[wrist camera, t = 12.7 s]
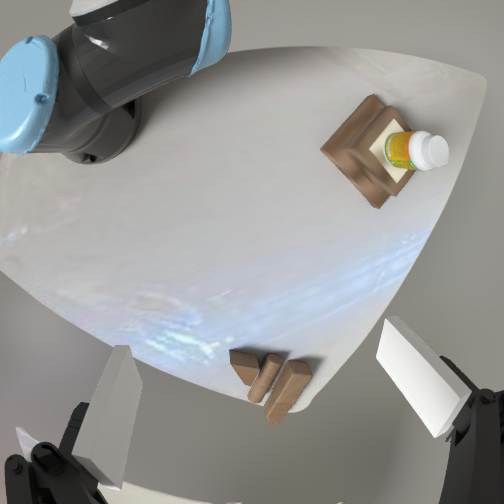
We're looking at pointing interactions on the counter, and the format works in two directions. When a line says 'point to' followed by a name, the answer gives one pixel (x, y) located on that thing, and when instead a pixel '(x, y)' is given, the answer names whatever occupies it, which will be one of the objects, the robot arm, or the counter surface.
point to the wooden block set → (284, 388)
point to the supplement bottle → (416, 150)
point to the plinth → (345, 161)
